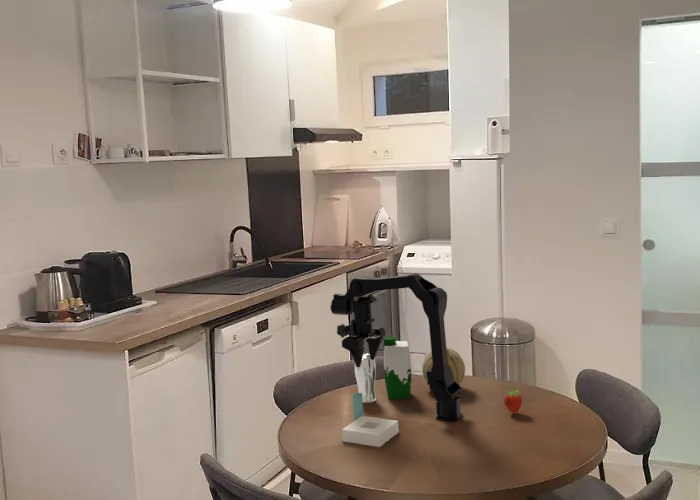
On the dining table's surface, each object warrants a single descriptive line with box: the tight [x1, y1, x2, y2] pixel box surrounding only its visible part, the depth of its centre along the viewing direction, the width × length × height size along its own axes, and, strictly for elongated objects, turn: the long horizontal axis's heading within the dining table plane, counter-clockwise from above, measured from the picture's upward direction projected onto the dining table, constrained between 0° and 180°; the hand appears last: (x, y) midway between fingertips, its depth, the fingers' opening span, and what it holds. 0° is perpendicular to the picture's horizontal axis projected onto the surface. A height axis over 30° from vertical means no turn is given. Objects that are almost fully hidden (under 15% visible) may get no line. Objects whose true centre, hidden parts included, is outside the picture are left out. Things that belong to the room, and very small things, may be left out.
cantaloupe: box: [422, 347, 466, 386], centre depth 254 cm, size 15×15×15 cm
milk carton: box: [382, 336, 412, 400], centre depth 250 cm, size 9×9×20 cm
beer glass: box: [354, 353, 377, 404], centre depth 247 cm, size 7×7×15 cm
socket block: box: [341, 415, 400, 448], centre depth 215 cm, size 12×12×4 cm
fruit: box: [503, 389, 523, 415], centre depth 227 cm, size 5×5×8 cm
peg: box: [351, 392, 364, 422], centre depth 226 cm, size 3×3×9 cm
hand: (365, 363), depth 239 cm, fingers open, 9 cm apart
